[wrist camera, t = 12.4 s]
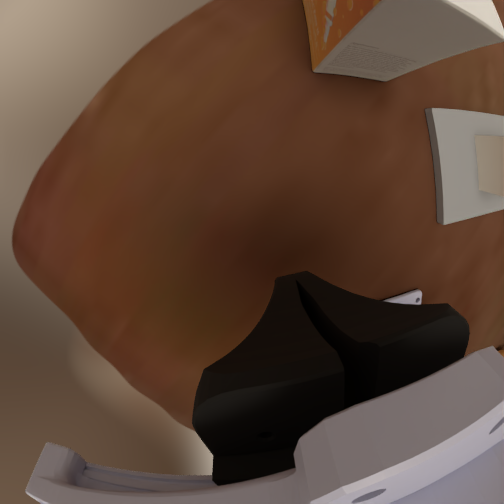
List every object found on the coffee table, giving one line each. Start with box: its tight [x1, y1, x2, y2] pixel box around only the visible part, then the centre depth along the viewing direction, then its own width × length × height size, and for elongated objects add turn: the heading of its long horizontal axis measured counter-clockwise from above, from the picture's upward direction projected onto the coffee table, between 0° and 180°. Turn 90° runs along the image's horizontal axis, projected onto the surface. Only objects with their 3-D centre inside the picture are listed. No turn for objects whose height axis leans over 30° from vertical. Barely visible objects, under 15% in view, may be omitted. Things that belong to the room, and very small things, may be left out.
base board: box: [425, 108, 504, 225], centre depth 18 cm, size 10×16×1 cm, turn 102°
